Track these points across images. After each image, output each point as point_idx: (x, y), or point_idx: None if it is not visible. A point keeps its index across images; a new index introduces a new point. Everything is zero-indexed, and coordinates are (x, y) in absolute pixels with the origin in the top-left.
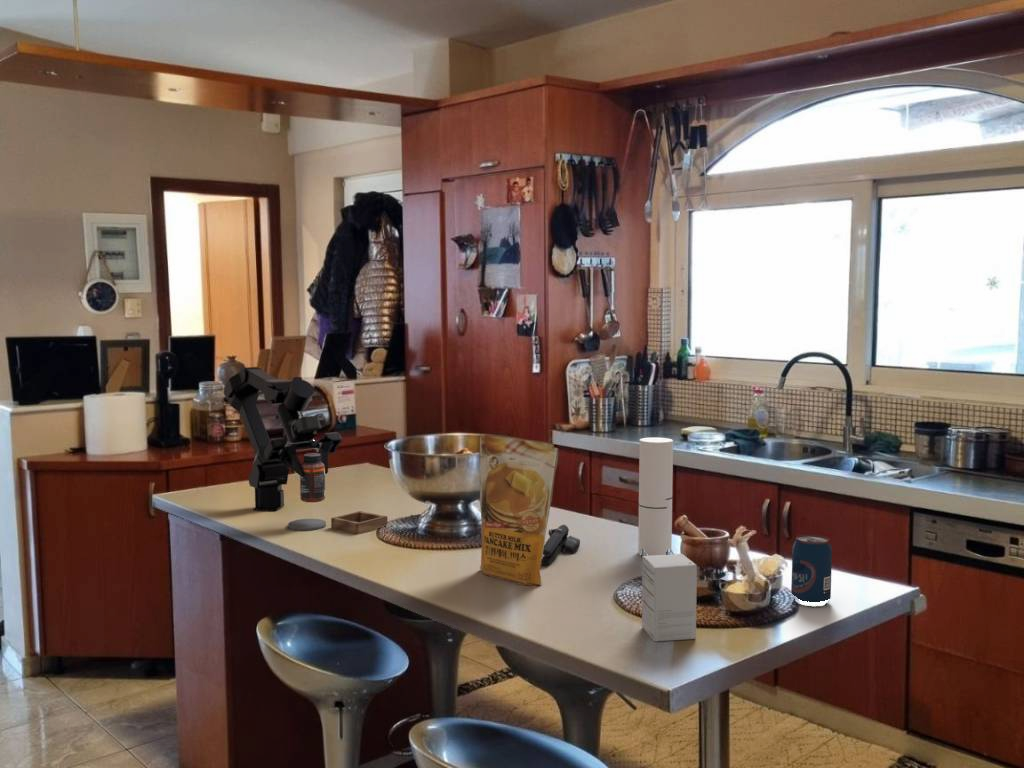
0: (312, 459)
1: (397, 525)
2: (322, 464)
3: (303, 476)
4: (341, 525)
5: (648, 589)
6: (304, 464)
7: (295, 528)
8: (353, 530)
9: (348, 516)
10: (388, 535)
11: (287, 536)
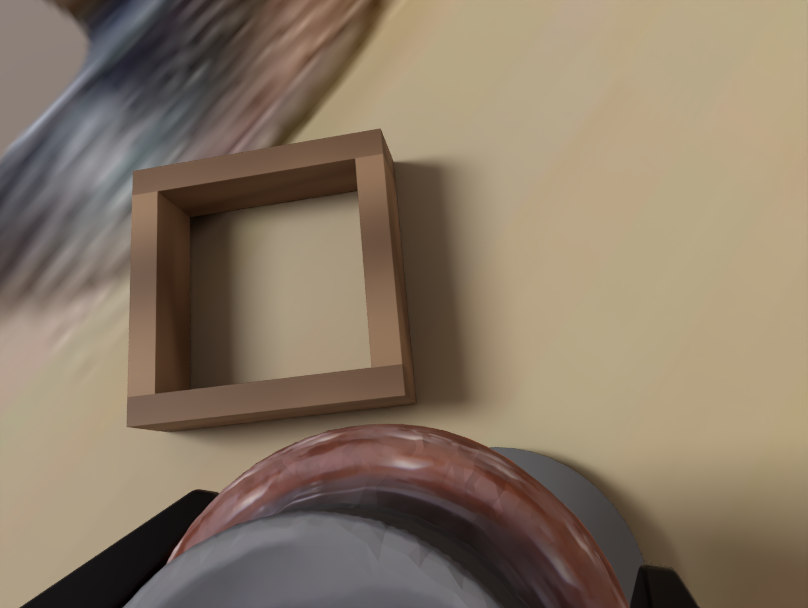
0: (458, 553)
1: (115, 185)
2: (258, 479)
3: (635, 593)
4: (401, 297)
5: None
6: None
7: (639, 550)
8: (394, 195)
9: (267, 381)
10: (299, 43)
11: (777, 437)
